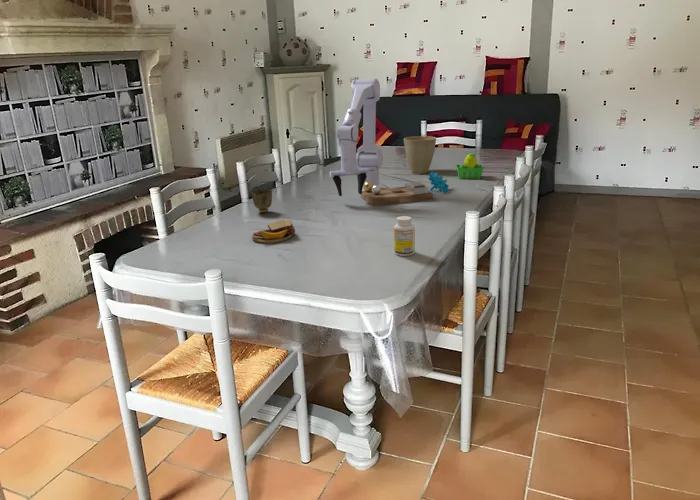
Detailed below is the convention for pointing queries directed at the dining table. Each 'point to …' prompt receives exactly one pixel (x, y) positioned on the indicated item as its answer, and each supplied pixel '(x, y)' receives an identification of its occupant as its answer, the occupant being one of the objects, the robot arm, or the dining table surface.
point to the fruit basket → (470, 168)
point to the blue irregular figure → (438, 182)
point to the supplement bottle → (404, 236)
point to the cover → (416, 188)
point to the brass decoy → (368, 186)
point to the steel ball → (376, 189)
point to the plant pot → (419, 152)
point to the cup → (262, 200)
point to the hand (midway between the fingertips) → (350, 194)
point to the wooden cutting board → (394, 196)
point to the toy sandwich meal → (275, 232)
